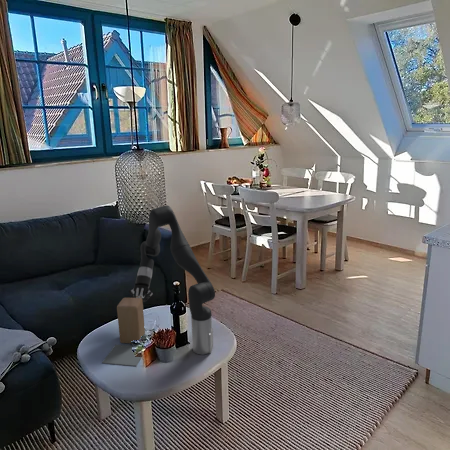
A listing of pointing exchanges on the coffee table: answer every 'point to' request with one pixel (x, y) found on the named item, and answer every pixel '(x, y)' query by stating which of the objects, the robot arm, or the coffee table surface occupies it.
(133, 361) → the slate mat
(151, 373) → the coffee table surface
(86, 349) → the coffee table surface
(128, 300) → the wooden block
